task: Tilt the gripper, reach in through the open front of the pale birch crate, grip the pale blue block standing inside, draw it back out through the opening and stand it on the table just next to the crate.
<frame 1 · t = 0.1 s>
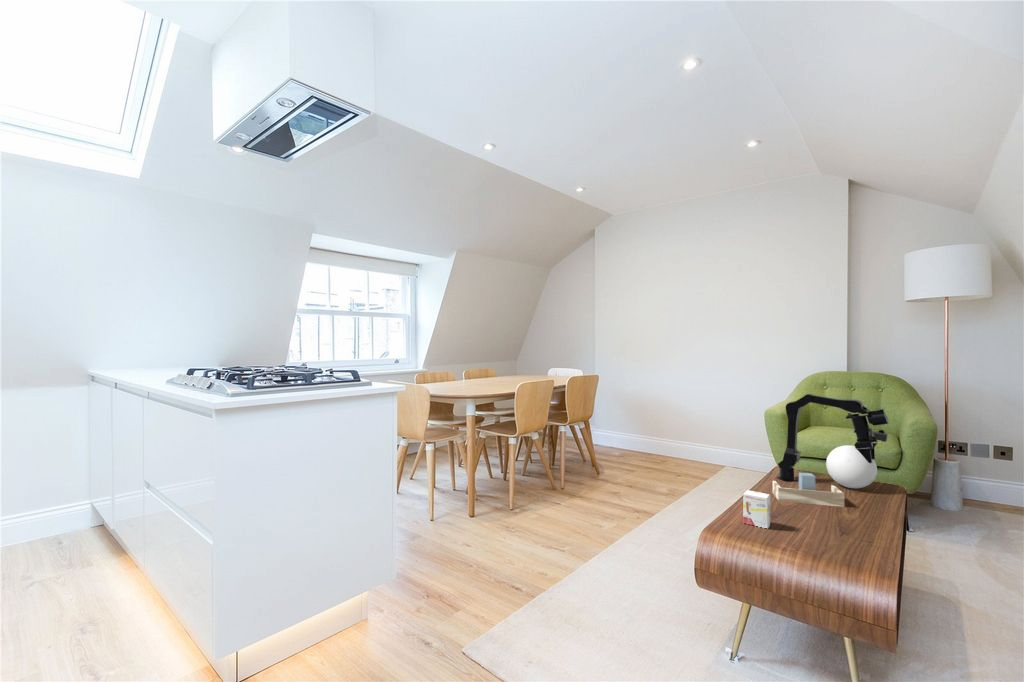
hand: (872, 461, 212), 15 cm above the table, tool pointing down, fingers open, 9 cm apart
birch crate: (806, 500, 204), on the table
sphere: (851, 487, 223), on the table
ink box: (756, 525, 176), on the table
pale blue block: (806, 499, 204), resting on birch crate
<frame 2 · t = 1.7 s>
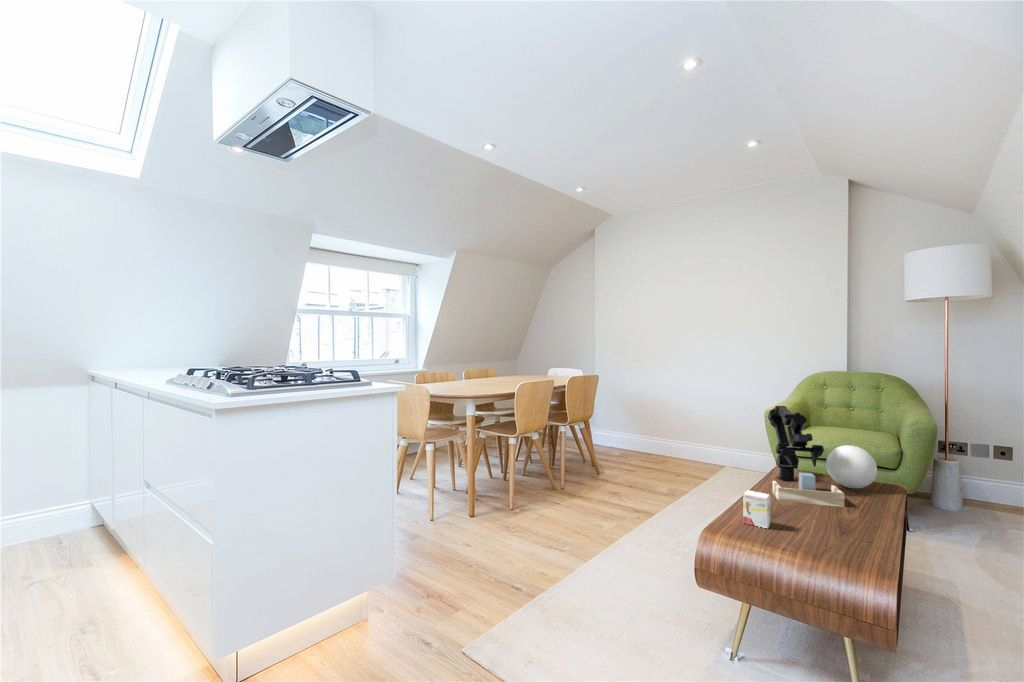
hand: (803, 465, 211), 13 cm above the table, tool tilted 45°, fingers open, 9 cm apart
nothing on the table moved.
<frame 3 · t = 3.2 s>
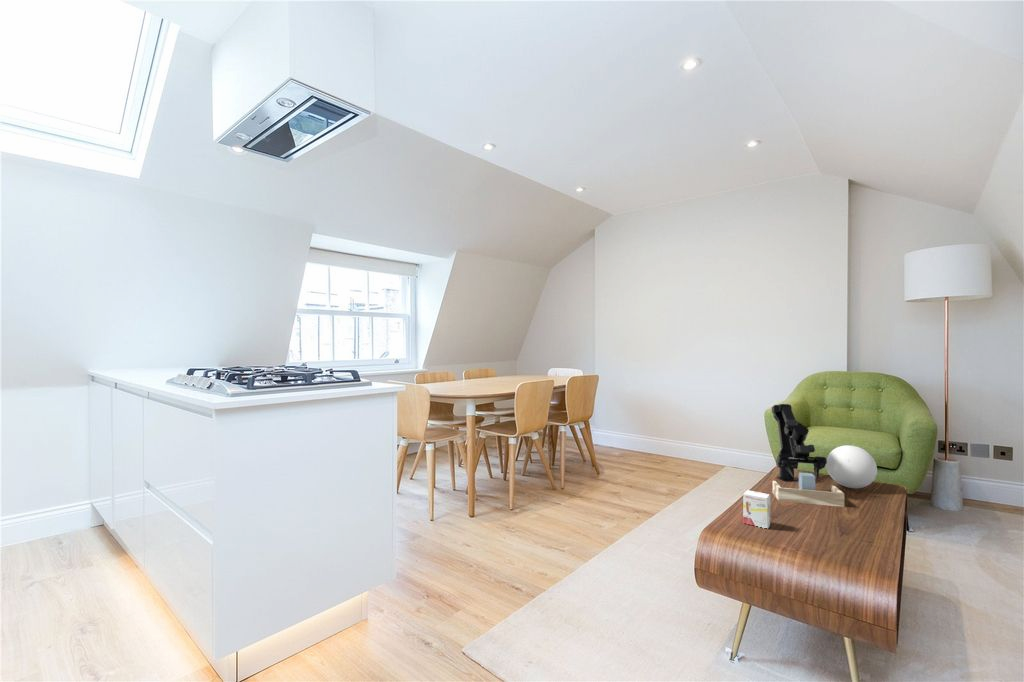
hand: (805, 477, 206), 9 cm above the table, tool tilted 45°, fingers open, 9 cm apart
nothing on the table moved.
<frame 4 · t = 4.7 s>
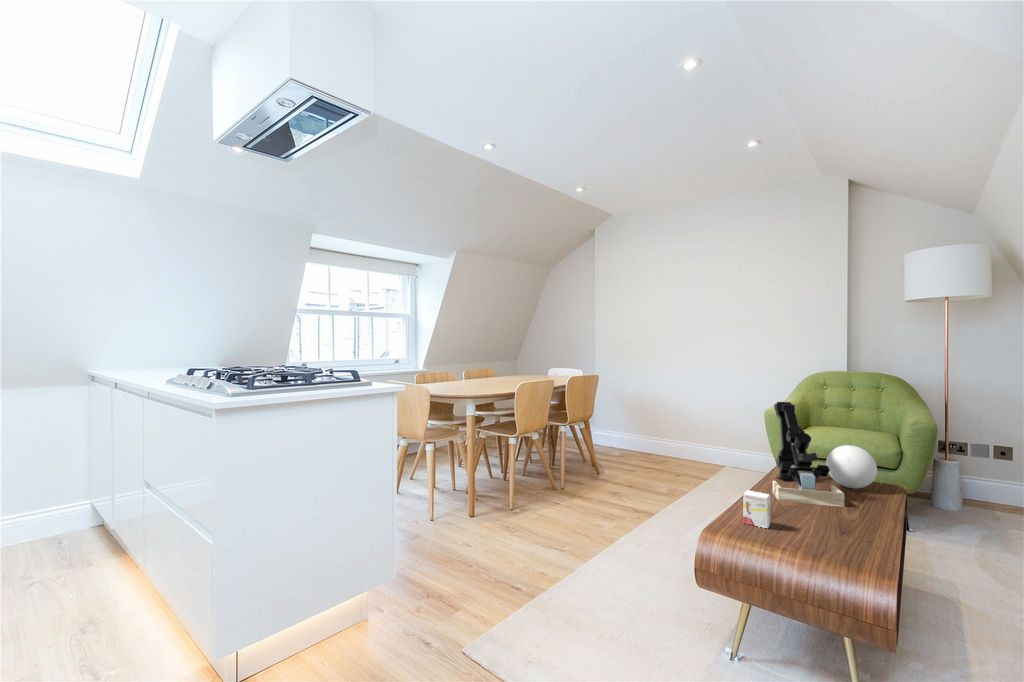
hand: (807, 486, 203), 7 cm above the table, tool tilted 45°, fingers closed on pale blue block, 5 cm apart
pale blue block: (806, 499, 204), resting on birch crate, touching gripper
everything else where it was.
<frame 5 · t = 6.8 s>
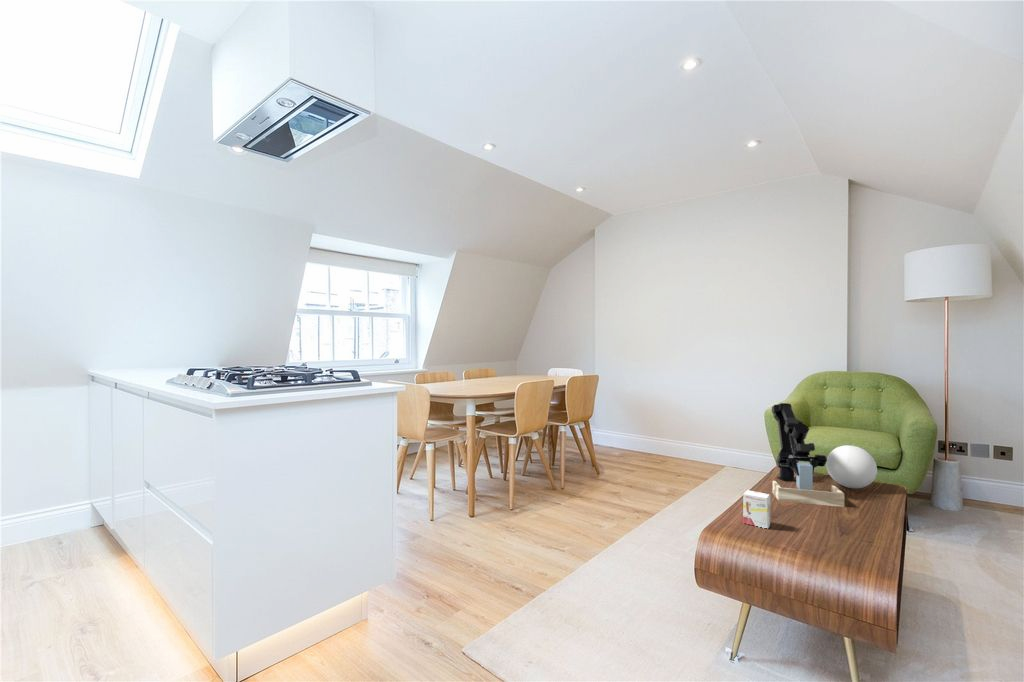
hand: (805, 476, 206), 10 cm above the table, tool tilted 45°, fingers closed on pale blue block, 5 cm apart
pale blue block: (804, 488, 207), point 4 cm above the table, touching gripper
everything else where it was.
when the fingers open (7 cm above the table, at t = 9.1 s): pale blue block drops 1 cm, on the table.
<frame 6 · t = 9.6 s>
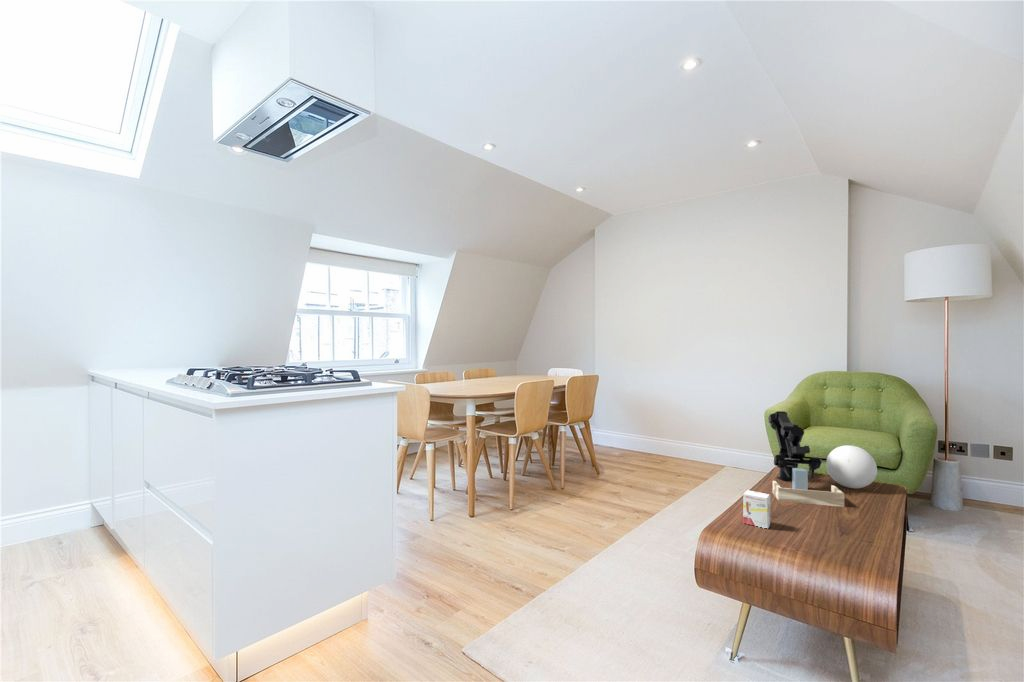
hand: (800, 477, 213), 8 cm above the table, tool tilted 45°, fingers open, 9 cm apart
pale blue block: (799, 493, 214), on the table
everything else where it was.
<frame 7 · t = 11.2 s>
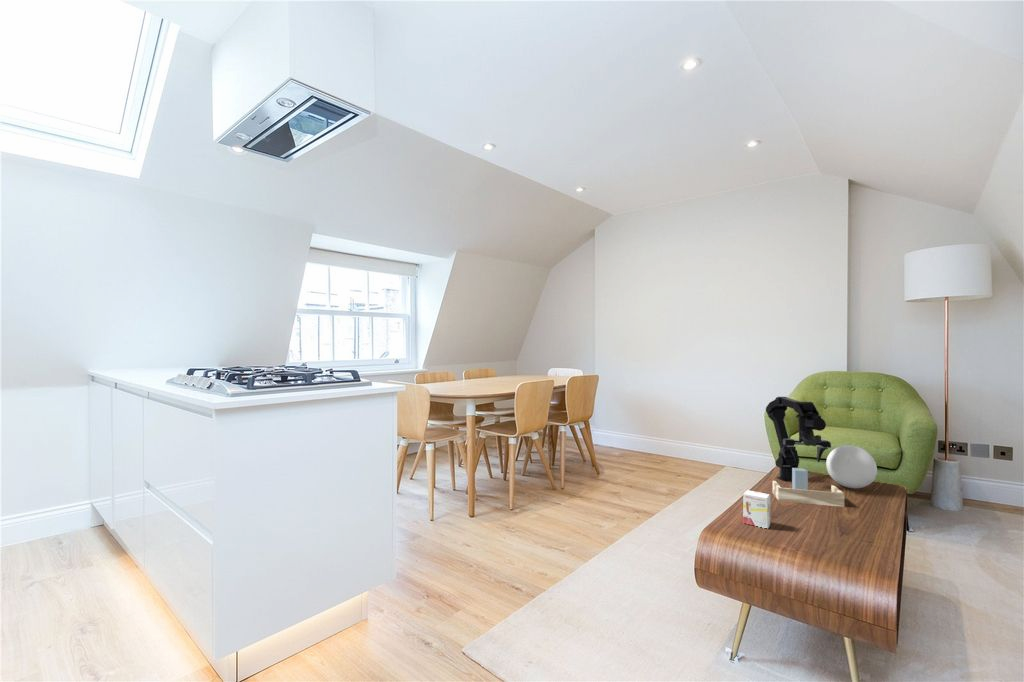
hand: (807, 461, 220), 13 cm above the table, tool pointing down, fingers open, 9 cm apart
nothing on the table moved.
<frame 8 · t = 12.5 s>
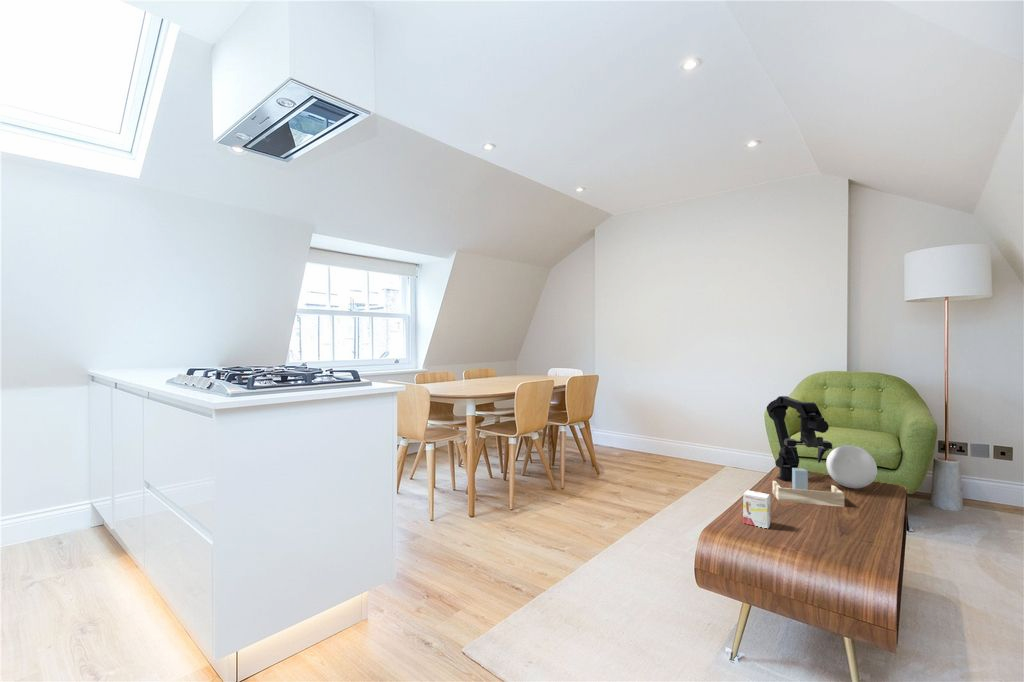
hand: (807, 461, 220), 13 cm above the table, tool pointing down, fingers open, 9 cm apart
nothing on the table moved.
at the end: pale blue block 0.6 cm from the target spot on the table beside the birch crate, on the table; pale blue block tilted 0°; the gripper is holding nothing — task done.
